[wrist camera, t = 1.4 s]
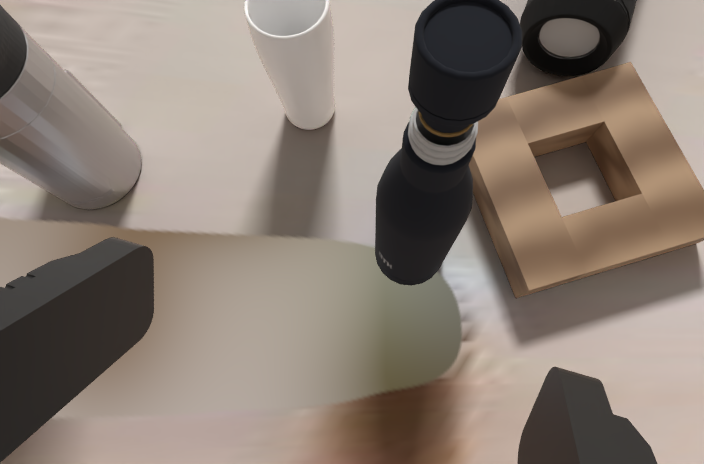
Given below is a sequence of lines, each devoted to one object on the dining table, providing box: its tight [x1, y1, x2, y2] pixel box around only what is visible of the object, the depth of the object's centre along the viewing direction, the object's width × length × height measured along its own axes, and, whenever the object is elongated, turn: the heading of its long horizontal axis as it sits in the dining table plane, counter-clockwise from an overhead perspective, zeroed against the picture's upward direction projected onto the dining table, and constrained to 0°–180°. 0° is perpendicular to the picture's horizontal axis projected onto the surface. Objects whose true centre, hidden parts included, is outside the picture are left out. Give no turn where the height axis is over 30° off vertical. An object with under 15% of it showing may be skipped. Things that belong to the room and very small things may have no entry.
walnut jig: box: [469, 62, 704, 298], centre depth 45 cm, size 18×18×4 cm
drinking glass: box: [244, 0, 335, 130], centre depth 44 cm, size 7×7×15 cm
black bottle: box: [375, 0, 522, 285], centre depth 31 cm, size 6×6×30 cm
